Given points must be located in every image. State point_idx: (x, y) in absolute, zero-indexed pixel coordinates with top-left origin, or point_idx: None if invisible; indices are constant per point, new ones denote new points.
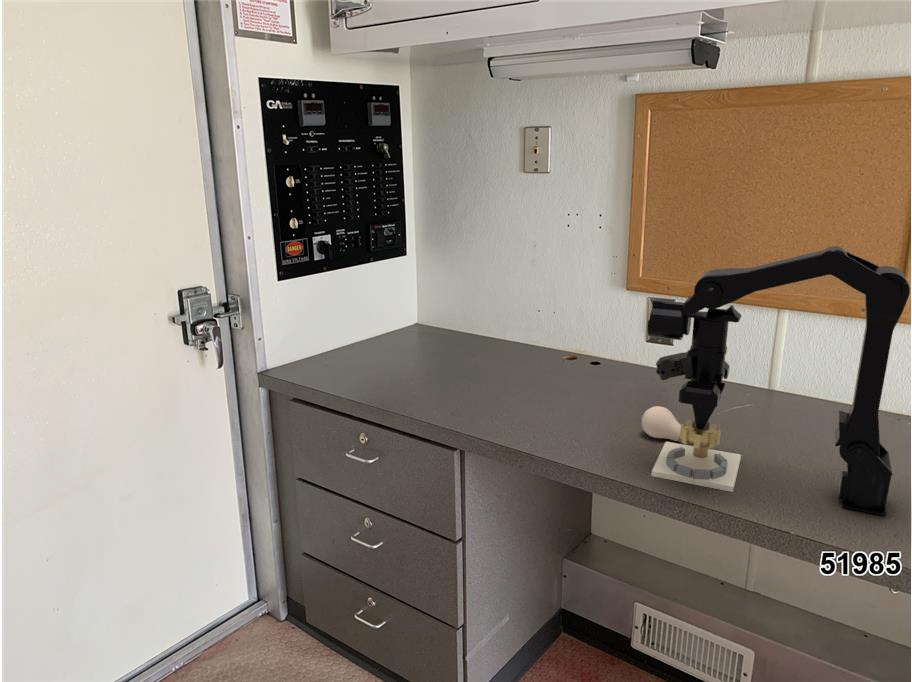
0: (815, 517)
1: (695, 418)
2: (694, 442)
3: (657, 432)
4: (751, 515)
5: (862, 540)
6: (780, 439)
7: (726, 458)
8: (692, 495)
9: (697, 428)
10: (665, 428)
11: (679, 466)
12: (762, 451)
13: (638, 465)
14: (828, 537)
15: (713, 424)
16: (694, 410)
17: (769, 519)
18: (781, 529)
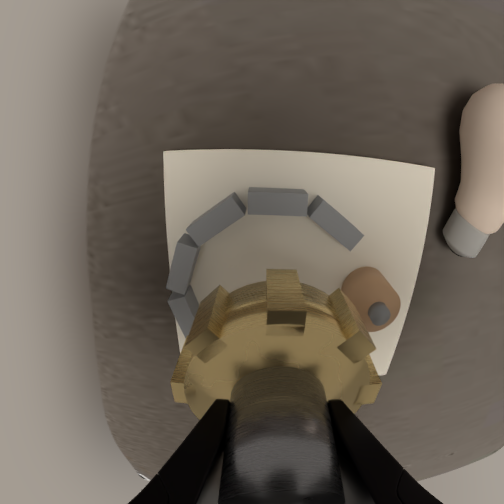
0: (173, 449)
1: (181, 447)
2: (182, 351)
3: (464, 137)
4: (113, 383)
5: (148, 467)
6: (471, 394)
7: None
8: (115, 283)
9: (215, 401)
10: (478, 167)
11: (180, 251)
12: (426, 387)
13: (234, 91)
14: (127, 447)
15: None
16: (140, 494)
17: (120, 404)
18: (104, 411)
